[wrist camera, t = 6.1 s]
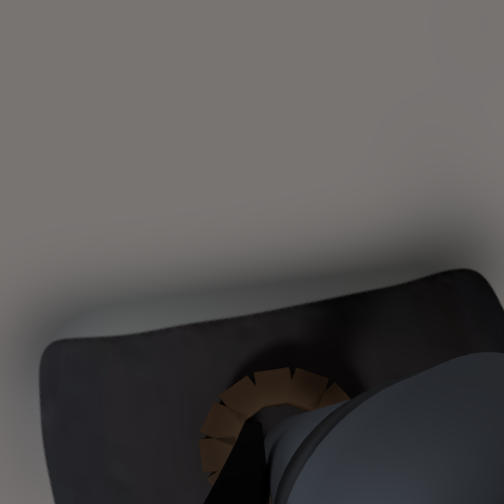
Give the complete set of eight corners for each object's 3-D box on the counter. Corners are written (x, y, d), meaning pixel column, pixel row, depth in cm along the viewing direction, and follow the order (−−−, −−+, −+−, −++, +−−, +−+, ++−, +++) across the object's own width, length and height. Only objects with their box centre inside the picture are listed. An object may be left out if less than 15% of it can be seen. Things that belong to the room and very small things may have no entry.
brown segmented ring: (321, 522, 14) (329, 532, 12) (184, 477, 16) (175, 483, 14) (370, 398, 19) (383, 393, 17) (240, 355, 21) (238, 346, 19)
